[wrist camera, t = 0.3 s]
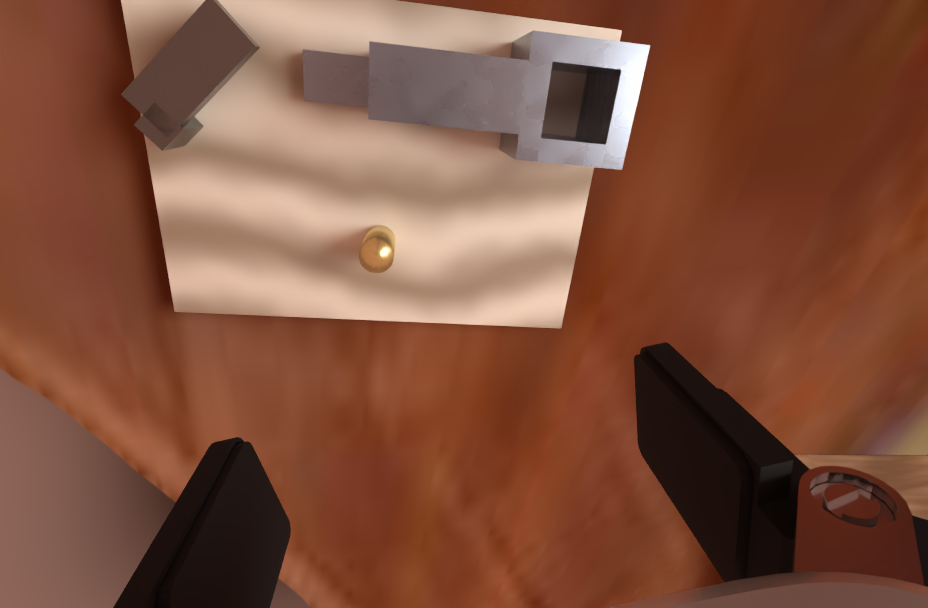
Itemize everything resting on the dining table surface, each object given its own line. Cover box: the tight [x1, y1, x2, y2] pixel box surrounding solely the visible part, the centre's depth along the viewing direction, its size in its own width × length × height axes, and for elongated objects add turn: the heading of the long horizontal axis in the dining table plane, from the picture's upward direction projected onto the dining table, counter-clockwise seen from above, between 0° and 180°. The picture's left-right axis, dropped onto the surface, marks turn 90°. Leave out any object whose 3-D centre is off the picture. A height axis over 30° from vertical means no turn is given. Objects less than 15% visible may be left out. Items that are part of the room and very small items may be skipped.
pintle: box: [359, 225, 396, 273], centre depth 35 cm, size 2×2×6 cm
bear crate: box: [795, 455, 928, 520], centre depth 54 cm, size 22×21×10 cm
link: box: [302, 30, 650, 170], centre depth 29 cm, size 20×7×6 cm, turn 84°
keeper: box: [121, 0, 260, 151], centre depth 30 cm, size 4×9×5 cm, turn 129°
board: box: [121, 0, 622, 328], centre depth 35 cm, size 23×32×2 cm
